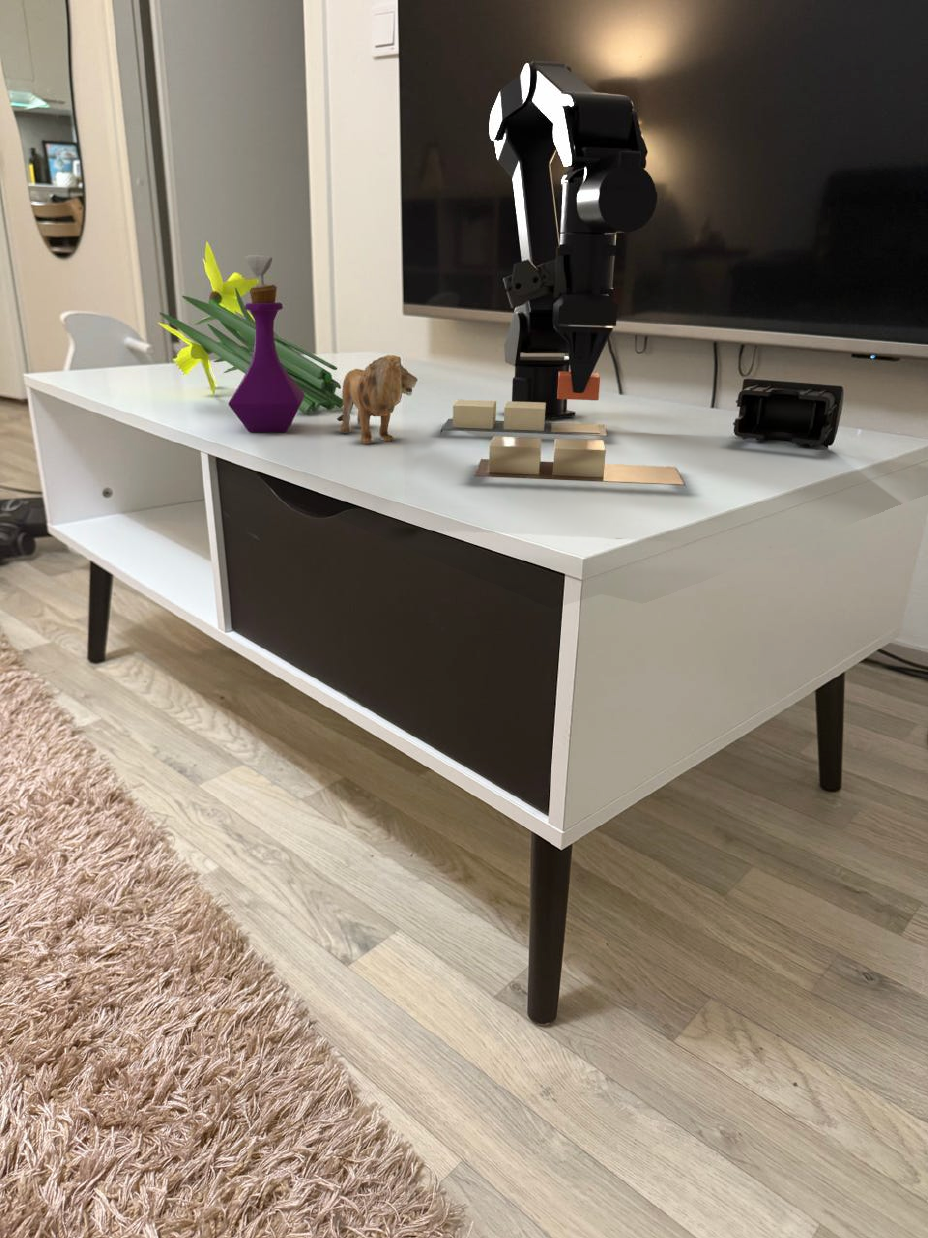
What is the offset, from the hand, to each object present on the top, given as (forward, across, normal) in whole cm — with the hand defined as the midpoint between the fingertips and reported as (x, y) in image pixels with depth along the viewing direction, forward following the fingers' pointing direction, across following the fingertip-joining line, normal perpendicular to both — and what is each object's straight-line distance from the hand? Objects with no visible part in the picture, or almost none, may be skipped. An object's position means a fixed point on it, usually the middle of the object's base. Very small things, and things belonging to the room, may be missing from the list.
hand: (577, 389), depth 99 cm
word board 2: (+5, +21, 0) cm, 22 cm away
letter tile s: (+1, 0, 0) cm, 1 cm away
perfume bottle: (+5, +3, -34) cm, 34 cm away
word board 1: (+5, 0, -6) cm, 8 cm away
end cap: (+5, +2, +22) cm, 23 cm away
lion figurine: (+5, +5, -22) cm, 23 cm away
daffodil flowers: (+5, -20, -42) cm, 46 cm away
